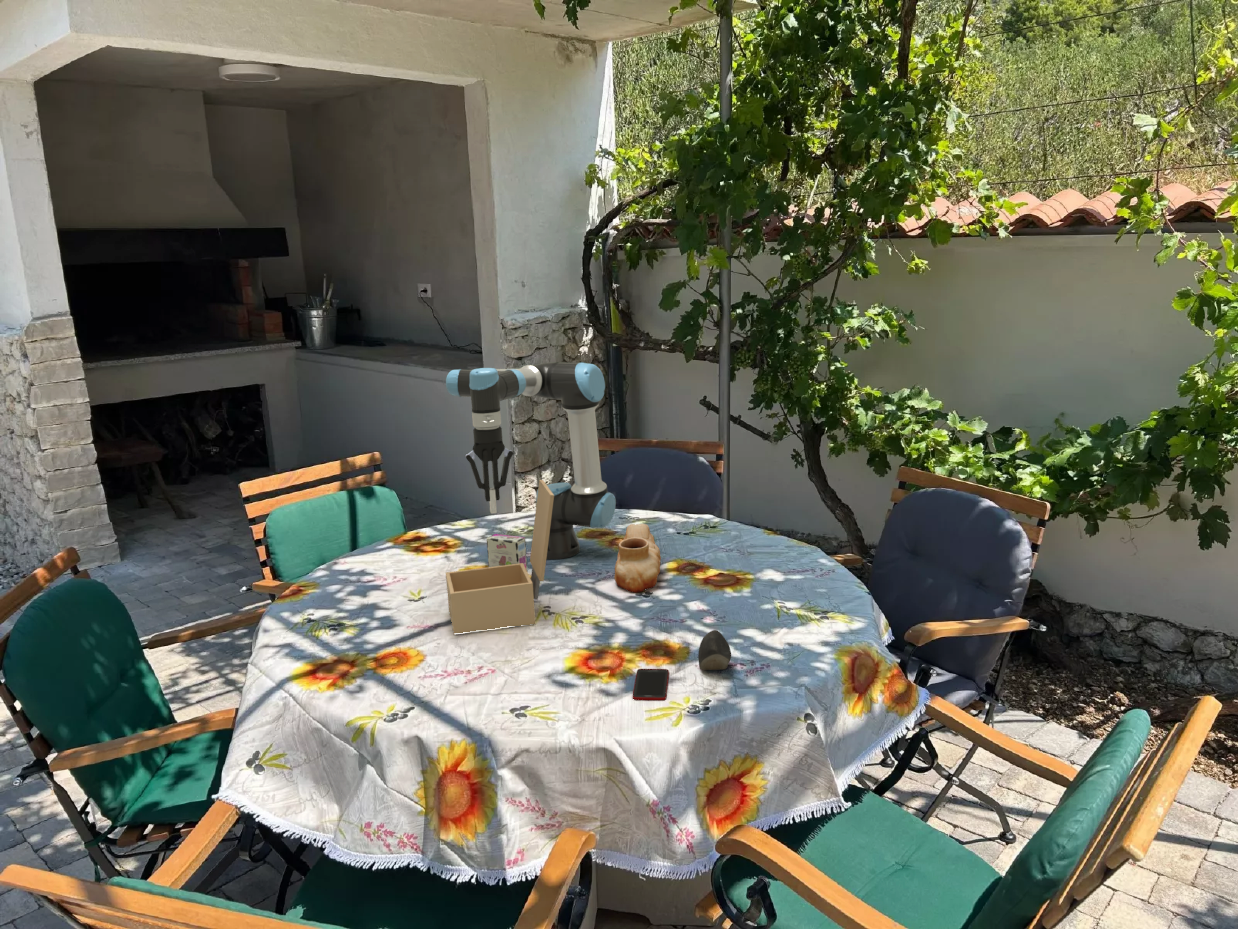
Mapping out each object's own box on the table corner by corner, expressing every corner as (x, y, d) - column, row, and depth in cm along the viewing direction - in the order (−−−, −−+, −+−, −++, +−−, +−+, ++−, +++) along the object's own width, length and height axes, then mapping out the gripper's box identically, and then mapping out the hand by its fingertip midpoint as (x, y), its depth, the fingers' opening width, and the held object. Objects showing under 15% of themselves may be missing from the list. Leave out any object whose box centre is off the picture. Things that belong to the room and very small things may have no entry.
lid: (527, 584, 271) (530, 584, 271) (537, 605, 255) (540, 605, 255) (539, 479, 265) (542, 480, 265) (550, 495, 249) (554, 495, 249)
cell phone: (669, 672, 226) (669, 668, 226) (666, 702, 212) (665, 698, 212) (637, 672, 227) (637, 668, 227) (632, 701, 213) (631, 697, 213)
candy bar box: (529, 588, 282) (526, 537, 278) (520, 594, 278) (516, 542, 274) (499, 583, 288) (495, 532, 284) (489, 589, 283) (485, 537, 279)
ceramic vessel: (663, 563, 300) (661, 518, 296) (658, 594, 274) (657, 545, 271) (620, 563, 301) (618, 518, 297) (611, 594, 276) (609, 545, 272)
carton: (525, 602, 272) (523, 563, 269) (535, 624, 256) (532, 583, 253) (449, 612, 267) (445, 572, 264) (454, 635, 251) (450, 593, 248)
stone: (702, 675, 228) (694, 656, 220) (698, 648, 233) (691, 628, 225) (734, 670, 226) (728, 650, 219) (730, 642, 231) (724, 622, 224)
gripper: (464, 431, 244) (470, 518, 250) (513, 427, 247) (519, 513, 253) (461, 426, 251) (467, 511, 257) (509, 422, 254) (514, 505, 260)
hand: (493, 511), depth 255 cm, fingers closed
